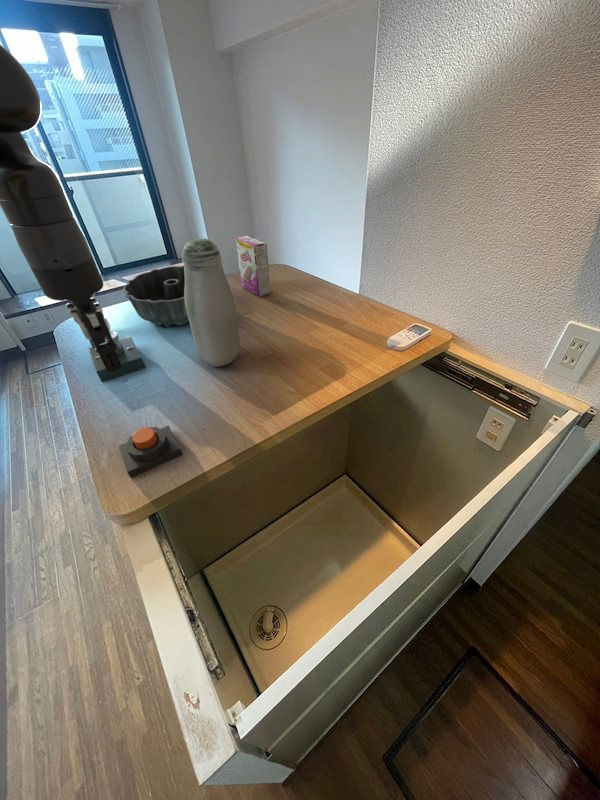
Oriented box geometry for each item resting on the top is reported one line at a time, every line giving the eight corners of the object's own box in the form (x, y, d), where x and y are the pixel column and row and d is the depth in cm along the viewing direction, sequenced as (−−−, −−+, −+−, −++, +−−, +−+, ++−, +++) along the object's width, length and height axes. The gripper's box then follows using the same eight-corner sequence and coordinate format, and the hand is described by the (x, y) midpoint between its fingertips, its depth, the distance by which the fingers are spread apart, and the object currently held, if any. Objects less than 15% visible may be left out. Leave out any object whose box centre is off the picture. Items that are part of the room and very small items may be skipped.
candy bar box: (241, 287, 115) (234, 237, 105) (252, 284, 118) (247, 235, 107) (259, 297, 109) (254, 245, 98) (271, 293, 111) (267, 242, 101)
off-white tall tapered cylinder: (226, 377, 76) (201, 251, 57) (192, 366, 79) (158, 244, 61) (250, 356, 83) (234, 237, 64) (217, 346, 86) (193, 231, 68)
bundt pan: (182, 342, 88) (172, 308, 81) (115, 322, 97) (101, 289, 90) (239, 304, 105) (235, 273, 99) (177, 290, 115) (170, 260, 108)
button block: (130, 478, 55) (123, 465, 53) (121, 451, 59) (114, 439, 57) (182, 454, 59) (177, 441, 56) (170, 431, 63) (165, 418, 61)
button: (138, 452, 55) (134, 446, 54) (133, 439, 57) (129, 432, 56) (159, 443, 57) (156, 436, 55) (154, 431, 59) (151, 424, 58)
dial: (122, 345, 81) (114, 328, 78) (126, 353, 78) (118, 336, 75) (103, 351, 79) (94, 333, 76) (106, 359, 77) (97, 342, 74)
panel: (146, 367, 79) (141, 356, 77) (101, 382, 75) (95, 371, 73) (134, 346, 87) (130, 335, 85) (93, 358, 83) (87, 347, 81)
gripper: (21, 250, 46) (73, 348, 57) (35, 278, 38) (94, 387, 48) (79, 240, 50) (118, 334, 60) (104, 264, 41) (144, 369, 52)
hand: (107, 358), depth 54 cm, fingers open, 8 cm apart
